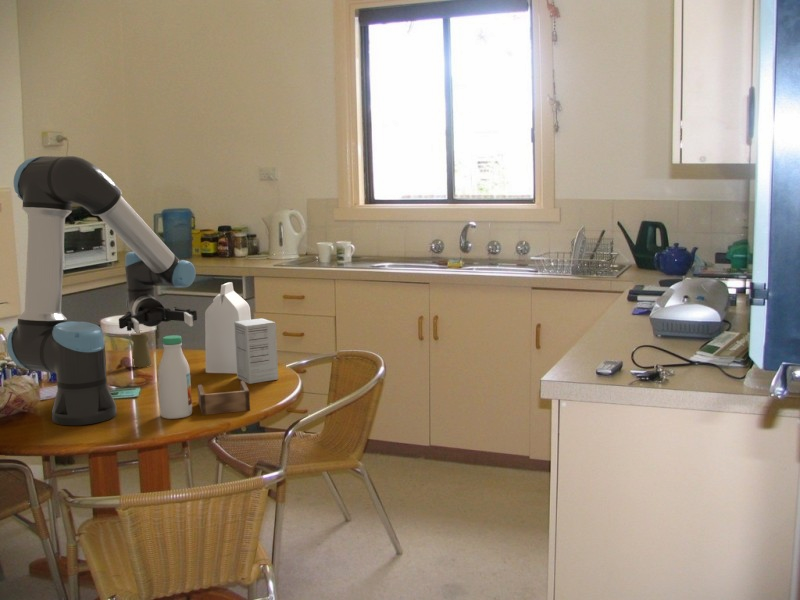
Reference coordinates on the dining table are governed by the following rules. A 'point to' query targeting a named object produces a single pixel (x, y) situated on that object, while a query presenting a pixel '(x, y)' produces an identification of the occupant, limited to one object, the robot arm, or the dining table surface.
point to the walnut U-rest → (224, 401)
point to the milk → (223, 329)
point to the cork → (141, 350)
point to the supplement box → (256, 350)
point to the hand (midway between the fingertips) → (164, 324)
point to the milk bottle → (174, 380)
